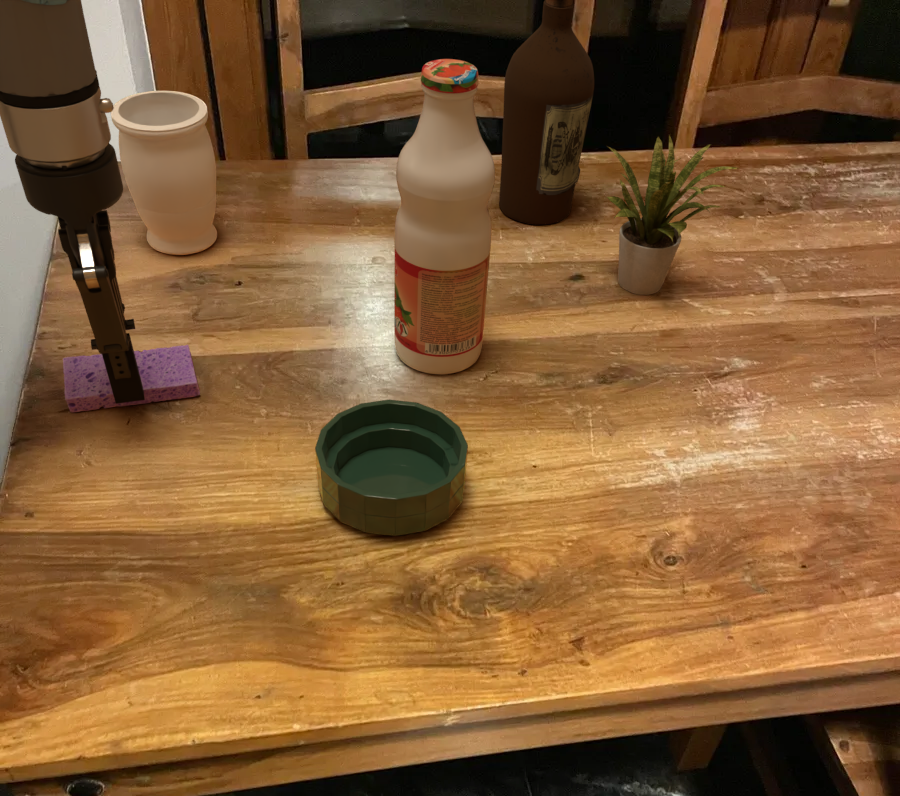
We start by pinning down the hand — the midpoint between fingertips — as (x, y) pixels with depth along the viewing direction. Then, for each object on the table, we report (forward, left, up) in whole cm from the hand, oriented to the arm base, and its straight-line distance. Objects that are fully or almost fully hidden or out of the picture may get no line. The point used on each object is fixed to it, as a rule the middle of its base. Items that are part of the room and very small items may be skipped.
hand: (129, 397), depth 90 cm
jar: (+8, +32, -2) cm, 33 cm away
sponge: (0, +4, -2) cm, 4 cm away
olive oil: (+53, +31, -2) cm, 61 cm away
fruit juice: (+32, +3, -2) cm, 32 cm away
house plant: (+60, +10, -2) cm, 61 cm away
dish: (+22, -17, -2) cm, 28 cm away
